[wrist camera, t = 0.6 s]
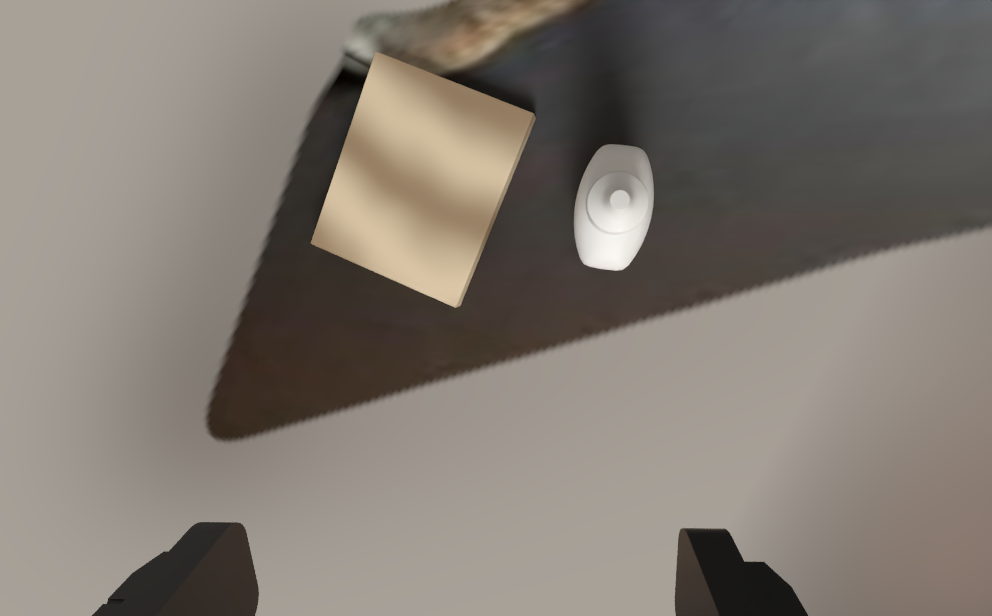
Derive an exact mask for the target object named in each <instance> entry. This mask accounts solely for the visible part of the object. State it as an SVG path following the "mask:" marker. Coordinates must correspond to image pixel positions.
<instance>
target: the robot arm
mask: <svg viewBox="0 0 992 616" xmlns="http://www.w3.org/2000/svg"><path fill="white" fill-rule="evenodd" d="M258 596H259V592H258V584H257V579H256V575H255V570H254V565H253V561H252V556H251V552H250V547H249V543H248V538H247V533H246V530H245V528H244V526H243V525H242V524H241V523H223V522H221V523H220V522H216V523H215V522H200V523H197V524H195V525H194V526H192V527H191V528H190V529H189V530H188V531H187V532H186V533H185V534H184V536H183V537H182V538H181V539H180V540H179V541H178V542H177V543H176V544H175V545H174V546H173V548H172V549H171V550H170V551H169V552H163V553H161V554H160V555H158V556H157V557H155V558H154V559H152V560H151V561H149V562H148V563H147V564H145V565H144V566H142V567H141V568H139V569H138V570H136V571H135V572H134V573H132V574H131V575H130V576H129V577H128V578H127V579H126V581H125V582H124V583H123V584H122V585H121V586H120V587H119V588H118V589H117V590H116V591H115V592H114V593H113V594H112V595H111V596H110V597H109V598H108V602H107V604H103V605H102V606H101V607H100V608H99V609H98V610H97V611H96V612H95V613H94V614H93V615H92V616H255V613H256V609H257V605H258ZM675 612H676V616H808V615H807V613H806V611H805V609H804V608H803V606H802V604H801V602H800V601H799V599H798V597H797V596H796V594H795V592H794V591H793V589H792V587H791V586H790V585H789V584H788V583H787V582H785V581H784V580H783V579H782V578H781V577H780V576H779V575H778V574H777V573H775V572H774V571H773V570H772V569H771V568H770V567H769V566H768V565H767V564H766V563H764V562H744V560H743V558H742V556H741V554H740V552H739V550H738V548H737V546H736V545H735V543H734V540H733V538H732V536H731V535H730V533H729V532H728V531H727V530H726V529H695V528H690V529H689V528H683V529H681V530H680V532H679V540H678V555H677V571H676V588H675Z"/></svg>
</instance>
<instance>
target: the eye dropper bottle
mask: <svg viewBox="0 0 992 616" xmlns="http://www.w3.org/2000/svg"><path fill="white" fill-rule="evenodd" d="M653 200H654V186H653V176H652V171H651V166H650V163H649V160H648V157H647V155H646V153H645V152H644V151H643V150H642V149H640V148H638V147H633V146H626V145H616V144H608V145H604V146H602V147H601V148H600V149H598V150H597V152H596V153H595V154H594V156H593V157H592V159H591V161H590V162H589V164H588V166H587V168H586V170H585V172H584V175H583V177H582V180H581V182H580V186H579V189H578V193H577V197H576V202H575V210H574V233H575V240H576V246H577V250H578V253H579V256H580V259H581V260H582V262H583V263H584V264H585V265H587V266H589V267H594V268H600V269H607V270H623V269H624V268H626V267H627V266H628V265H629V264H630V262H631V261H632V260H633V258H634V257H635V255H636V254H637V252H638V250H639V249H640V247H641V245H642V243H643V241H644V238H645V236H646V233H647V230H648V227H649V224H650V220H651V216H652V210H653Z"/></svg>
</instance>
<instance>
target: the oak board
mask: <svg viewBox="0 0 992 616" xmlns="http://www.w3.org/2000/svg"><path fill="white" fill-rule="evenodd" d="M535 119H536V118H535V115H534V113H531V112H529V111H526V110H524V109H521V108H519V107H516V106H514V105H511V104H509V103H506V102H503V101H501V100H498V99H496V98H493V97H491V96H488V95H486V94H483V93H481V92H478V91H475V90H473V89H470V88H468V87H465V86H463V85H460V84H458V83H455V82H453V81H450V80H447V79H445V78H442V77H440V76H437V75H435V74H432V73H430V72H427V71H425V70H422V69H419V68H417V67H414V66H412V65H409V64H407V63H404V62H402V61H399V60H397V59H394V58H391V57H389V56H386V55H384V54H381V53H379V52H375V55H374V58H373V61H372V64H371V67H370V70H369V73H368V76H367V79H366V82H365V84H364V87H363V90H362V93H361V96H360V99H359V102H358V105H357V108H356V111H355V114H354V117H353V120H352V123H351V126H350V129H349V132H348V135H347V138H346V141H345V144H344V146H343V149H342V152H341V155H340V158H339V161H338V164H337V167H336V170H335V173H334V176H333V179H332V182H331V185H330V188H329V191H328V194H327V197H326V200H325V203H324V206H323V208H322V211H321V214H320V217H319V220H318V223H317V226H316V229H315V232H314V235H313V238H312V241H311V244H313V245H315V246H317V247H320V248H322V249H324V250H326V251H329V252H331V253H333V254H335V255H338V256H340V257H342V258H344V259H347V260H349V261H351V262H354V263H356V264H358V265H360V266H363V267H365V268H367V269H369V270H372V271H374V272H376V273H378V274H381V275H383V276H385V277H387V278H390V279H392V280H394V281H396V282H399V283H401V284H403V285H405V286H408V287H410V288H412V289H414V290H417V291H419V292H421V293H424V294H426V295H428V296H430V297H433V298H435V299H437V300H439V301H442V302H444V303H446V304H448V305H451V306H453V307H455V308H456V307H458V306H460V305H461V303H462V300H463V298H464V295H465V293H466V290H467V288H468V286H469V283H470V281H471V278H472V276H473V273H474V271H475V268H476V266H477V263H478V261H479V258H480V256H481V253H482V251H483V248H484V246H485V243H486V241H487V238H488V236H489V233H490V231H491V228H492V226H493V223H494V221H495V218H496V216H497V213H498V211H499V208H500V206H501V204H502V201H503V199H504V196H505V194H506V191H507V189H508V186H509V184H510V181H511V179H512V176H513V174H514V171H515V169H516V166H517V164H518V161H519V159H520V156H521V154H522V151H523V149H524V146H525V144H526V141H527V139H528V136H529V134H530V131H531V129H532V126H533V124H534V122H535Z"/></svg>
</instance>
